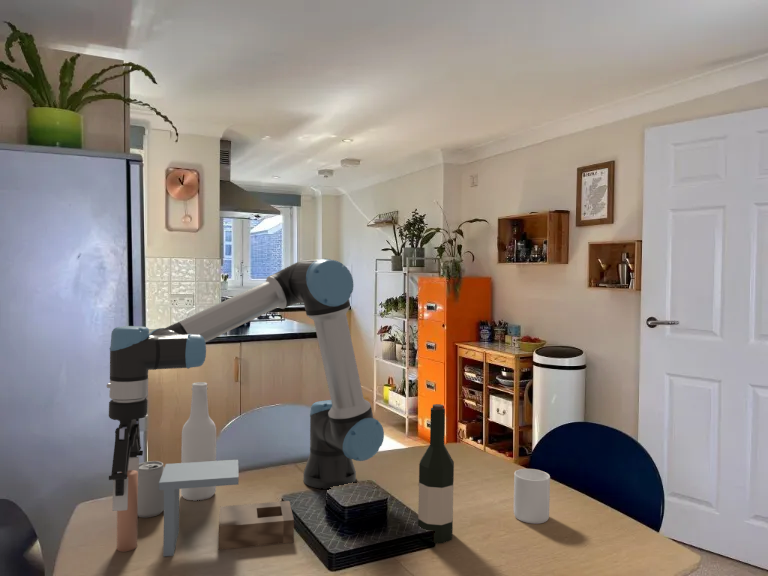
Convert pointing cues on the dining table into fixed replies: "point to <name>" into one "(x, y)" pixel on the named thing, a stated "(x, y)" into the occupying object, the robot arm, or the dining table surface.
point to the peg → (128, 516)
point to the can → (150, 489)
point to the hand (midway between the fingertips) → (126, 497)
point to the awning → (190, 477)
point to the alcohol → (198, 439)
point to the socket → (255, 525)
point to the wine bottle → (436, 482)
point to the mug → (531, 495)
